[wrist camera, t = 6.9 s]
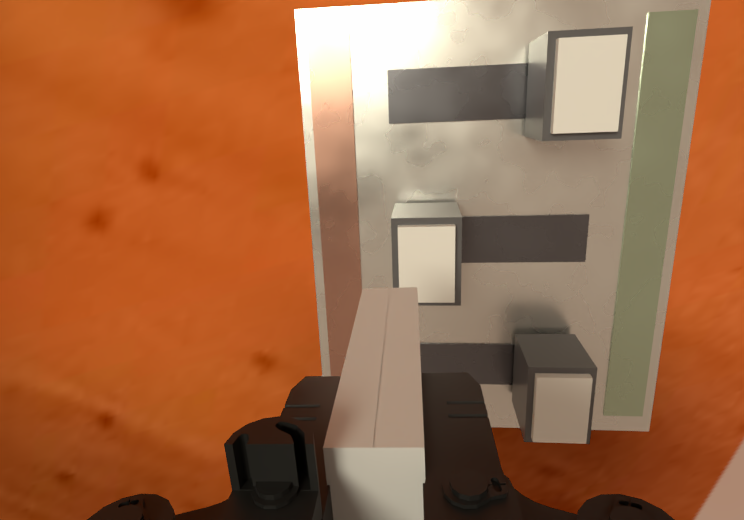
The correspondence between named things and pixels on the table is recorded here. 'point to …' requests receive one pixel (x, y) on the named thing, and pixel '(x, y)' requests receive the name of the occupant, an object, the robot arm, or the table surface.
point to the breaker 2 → (577, 84)
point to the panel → (501, 183)
